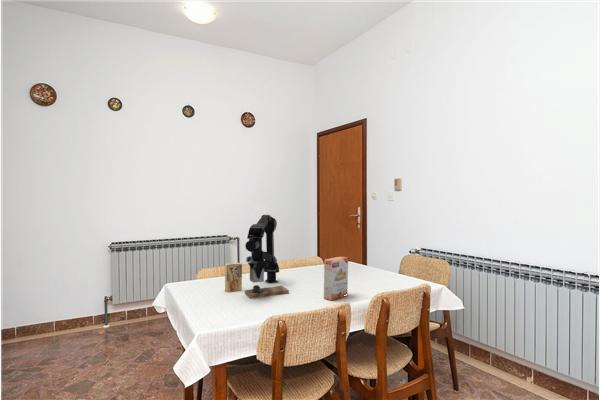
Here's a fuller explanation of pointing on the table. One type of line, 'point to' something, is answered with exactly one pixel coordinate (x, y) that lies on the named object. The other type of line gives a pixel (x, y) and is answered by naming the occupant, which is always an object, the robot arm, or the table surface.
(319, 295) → the table surface
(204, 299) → the table surface
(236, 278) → the candy box
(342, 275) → the cracker box
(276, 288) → the brown flat block
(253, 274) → the metal cube with knob
